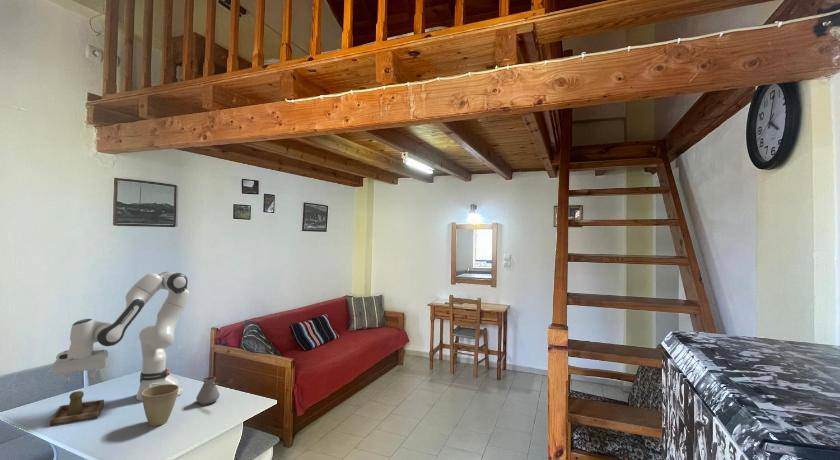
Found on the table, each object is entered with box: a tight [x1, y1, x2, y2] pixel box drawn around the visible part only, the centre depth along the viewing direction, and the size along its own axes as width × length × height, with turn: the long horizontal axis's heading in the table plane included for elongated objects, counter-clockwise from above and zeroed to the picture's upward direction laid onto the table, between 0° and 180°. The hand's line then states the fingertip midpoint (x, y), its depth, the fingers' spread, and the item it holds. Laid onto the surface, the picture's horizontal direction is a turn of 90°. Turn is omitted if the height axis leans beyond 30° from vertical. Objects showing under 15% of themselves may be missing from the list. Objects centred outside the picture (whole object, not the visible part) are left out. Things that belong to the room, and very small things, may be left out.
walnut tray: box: [49, 399, 105, 427], centre depth 181 cm, size 17×17×3 cm
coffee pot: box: [195, 376, 232, 406], centre depth 201 cm, size 21×12×15 cm, turn 72°
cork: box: [66, 390, 85, 417], centre depth 179 cm, size 6×6×11 cm
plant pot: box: [142, 384, 180, 427], centre depth 177 cm, size 15×15×16 cm
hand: (79, 379), depth 181 cm, fingers open, 8 cm apart
